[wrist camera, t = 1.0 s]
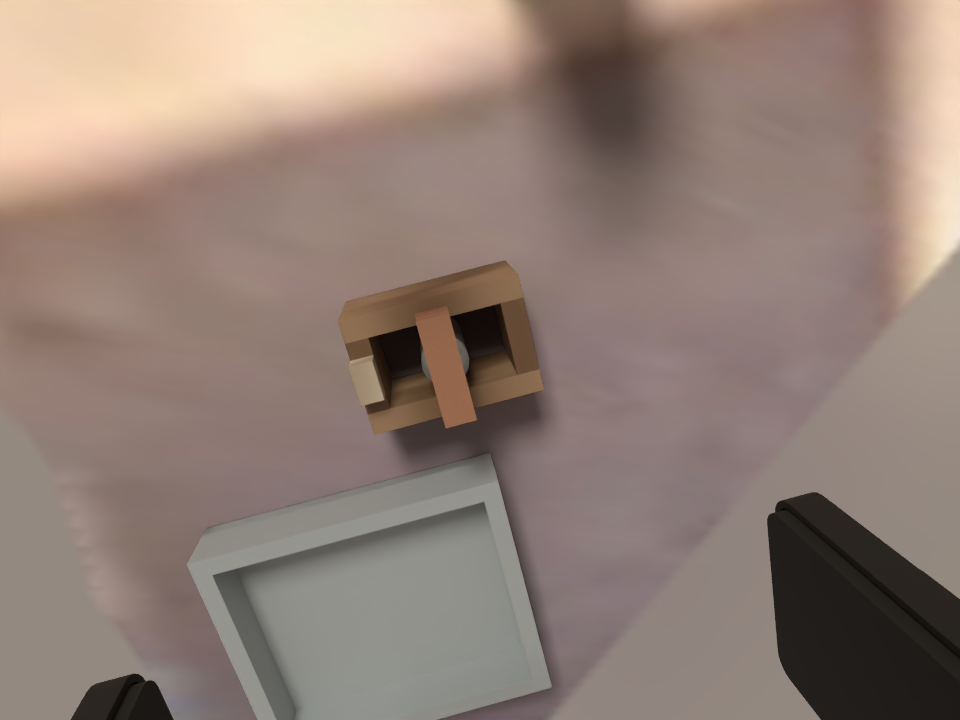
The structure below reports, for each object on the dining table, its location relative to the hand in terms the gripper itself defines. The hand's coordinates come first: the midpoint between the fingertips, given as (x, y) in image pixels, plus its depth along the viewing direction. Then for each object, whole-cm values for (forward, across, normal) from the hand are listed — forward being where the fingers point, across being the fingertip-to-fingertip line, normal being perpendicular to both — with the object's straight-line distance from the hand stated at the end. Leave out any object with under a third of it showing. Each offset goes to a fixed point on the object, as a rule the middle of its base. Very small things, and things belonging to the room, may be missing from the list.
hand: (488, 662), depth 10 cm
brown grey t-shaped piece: (+20, -1, 0) cm, 20 cm away
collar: (+20, -1, 0) cm, 20 cm away
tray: (+20, +5, +12) cm, 24 cm away
